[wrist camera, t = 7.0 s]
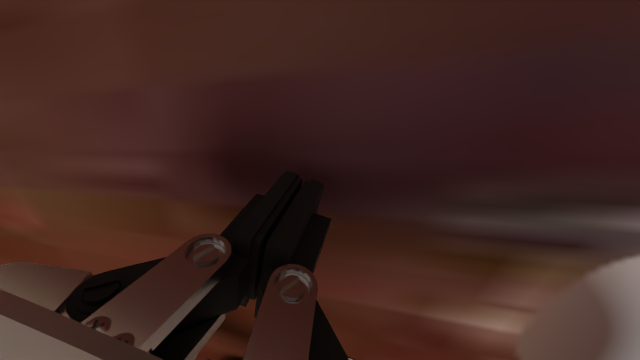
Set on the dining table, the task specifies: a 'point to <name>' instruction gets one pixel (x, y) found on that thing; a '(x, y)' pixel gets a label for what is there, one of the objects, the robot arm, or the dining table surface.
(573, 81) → the dining table surface
